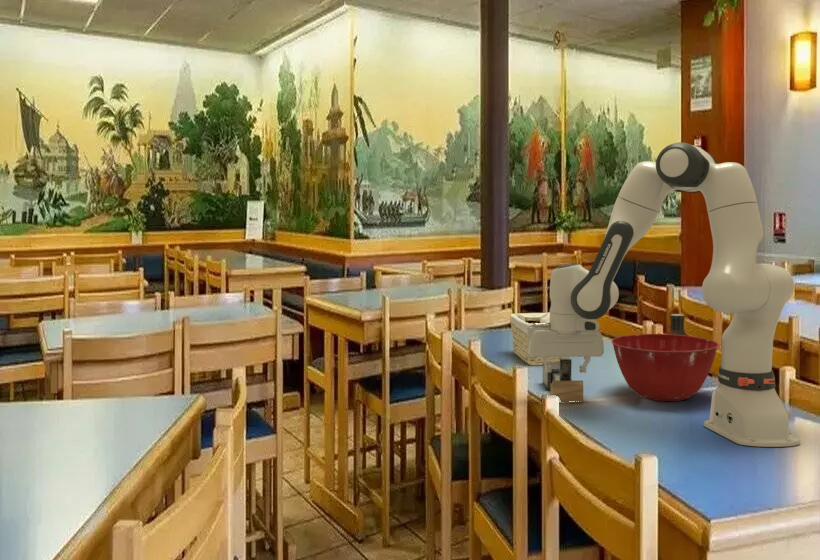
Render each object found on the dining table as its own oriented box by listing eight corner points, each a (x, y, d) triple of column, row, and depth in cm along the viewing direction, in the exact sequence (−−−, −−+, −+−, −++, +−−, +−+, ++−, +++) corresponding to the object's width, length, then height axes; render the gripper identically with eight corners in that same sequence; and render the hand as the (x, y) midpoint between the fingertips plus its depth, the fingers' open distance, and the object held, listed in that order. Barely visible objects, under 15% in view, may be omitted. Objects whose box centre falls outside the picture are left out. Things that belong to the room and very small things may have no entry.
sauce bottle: (688, 381, 223) (690, 316, 221) (667, 381, 224) (668, 316, 222) (685, 377, 229) (687, 313, 227) (664, 376, 230) (665, 313, 228)
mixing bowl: (590, 388, 216) (591, 336, 215) (671, 379, 226) (672, 329, 224) (652, 413, 190) (653, 354, 188) (741, 402, 199) (742, 346, 198)
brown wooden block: (583, 403, 200) (583, 381, 200) (552, 403, 201) (552, 381, 200) (580, 399, 204) (580, 377, 204) (550, 399, 205) (550, 378, 204)
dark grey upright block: (573, 396, 202) (574, 361, 201) (559, 397, 202) (559, 361, 201) (565, 385, 215) (565, 351, 214) (551, 385, 215) (552, 352, 214)
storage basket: (573, 365, 248) (573, 322, 246) (525, 367, 246) (525, 323, 245) (552, 351, 271) (552, 311, 270) (508, 353, 270) (508, 313, 268)
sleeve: (570, 390, 214) (571, 369, 214) (547, 390, 214) (547, 369, 214) (565, 382, 223) (565, 362, 223) (542, 383, 224) (542, 362, 223)
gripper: (529, 324, 200) (529, 375, 201) (605, 324, 199) (605, 374, 200) (526, 321, 206) (526, 370, 207) (600, 320, 205) (599, 369, 207)
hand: (565, 372), depth 204 cm, fingers open, 8 cm apart
